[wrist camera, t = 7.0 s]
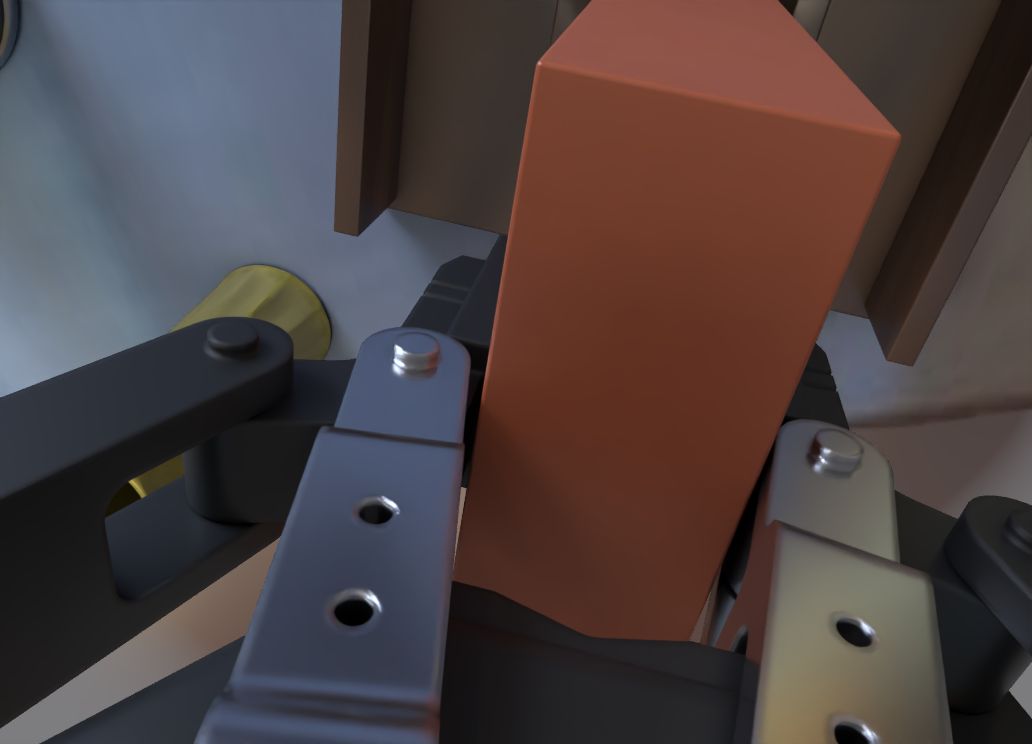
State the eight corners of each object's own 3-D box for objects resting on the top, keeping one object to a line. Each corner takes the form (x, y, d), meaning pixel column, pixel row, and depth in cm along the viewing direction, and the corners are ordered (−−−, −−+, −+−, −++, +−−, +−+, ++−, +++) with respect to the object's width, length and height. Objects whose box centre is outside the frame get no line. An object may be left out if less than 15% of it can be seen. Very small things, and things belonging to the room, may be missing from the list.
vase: (280, 391, 42) (111, 592, 30) (193, 305, 40) (-24, 481, 28) (356, 334, 39) (203, 530, 27) (267, 239, 37) (60, 402, 25)
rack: (379, 199, 35) (293, 280, 27) (408, -218, 27) (297, -262, 19) (879, 314, 33) (931, 434, 26) (1070, -96, 25) (1226, -93, 18)
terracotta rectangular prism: (542, 349, 21) (428, 720, 11) (622, -37, 16) (536, 58, 6) (656, 375, 20) (633, 776, 11) (772, -8, 15) (906, 134, 6)
